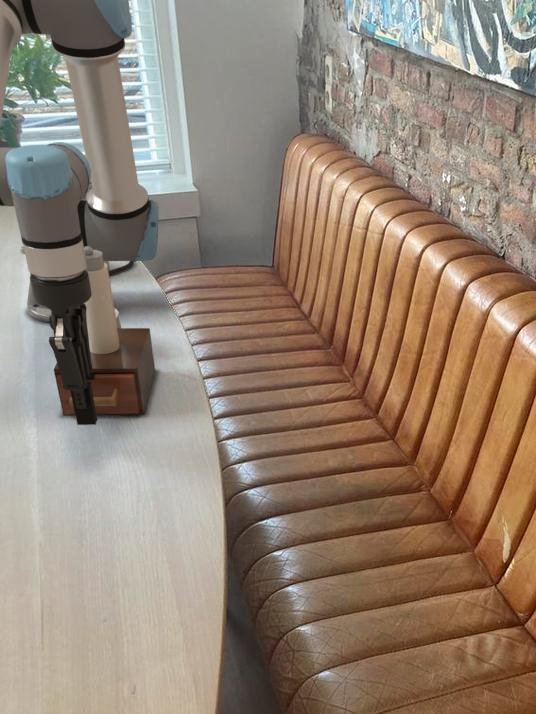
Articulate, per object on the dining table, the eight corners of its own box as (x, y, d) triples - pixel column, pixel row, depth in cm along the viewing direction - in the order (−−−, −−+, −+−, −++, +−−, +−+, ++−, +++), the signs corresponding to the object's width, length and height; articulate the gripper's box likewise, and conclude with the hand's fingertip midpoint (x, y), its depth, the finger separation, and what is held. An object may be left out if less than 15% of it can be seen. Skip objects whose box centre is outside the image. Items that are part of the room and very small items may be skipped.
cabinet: (144, 414, 129) (137, 368, 124) (63, 415, 128) (53, 369, 123) (155, 371, 142) (149, 327, 137) (81, 371, 141) (73, 328, 136)
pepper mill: (91, 340, 132) (73, 240, 122) (122, 340, 132) (107, 241, 122) (85, 354, 128) (66, 251, 118) (117, 354, 128) (101, 252, 118)
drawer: (135, 427, 124) (129, 390, 120) (58, 428, 123) (50, 390, 119) (149, 372, 140) (145, 338, 136) (81, 373, 138) (75, 338, 134)
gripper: (41, 255, 109) (71, 401, 123) (16, 289, 98) (52, 445, 112) (96, 255, 110) (119, 401, 123) (77, 289, 99) (105, 444, 113)
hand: (87, 422), depth 118 cm, fingers closed
